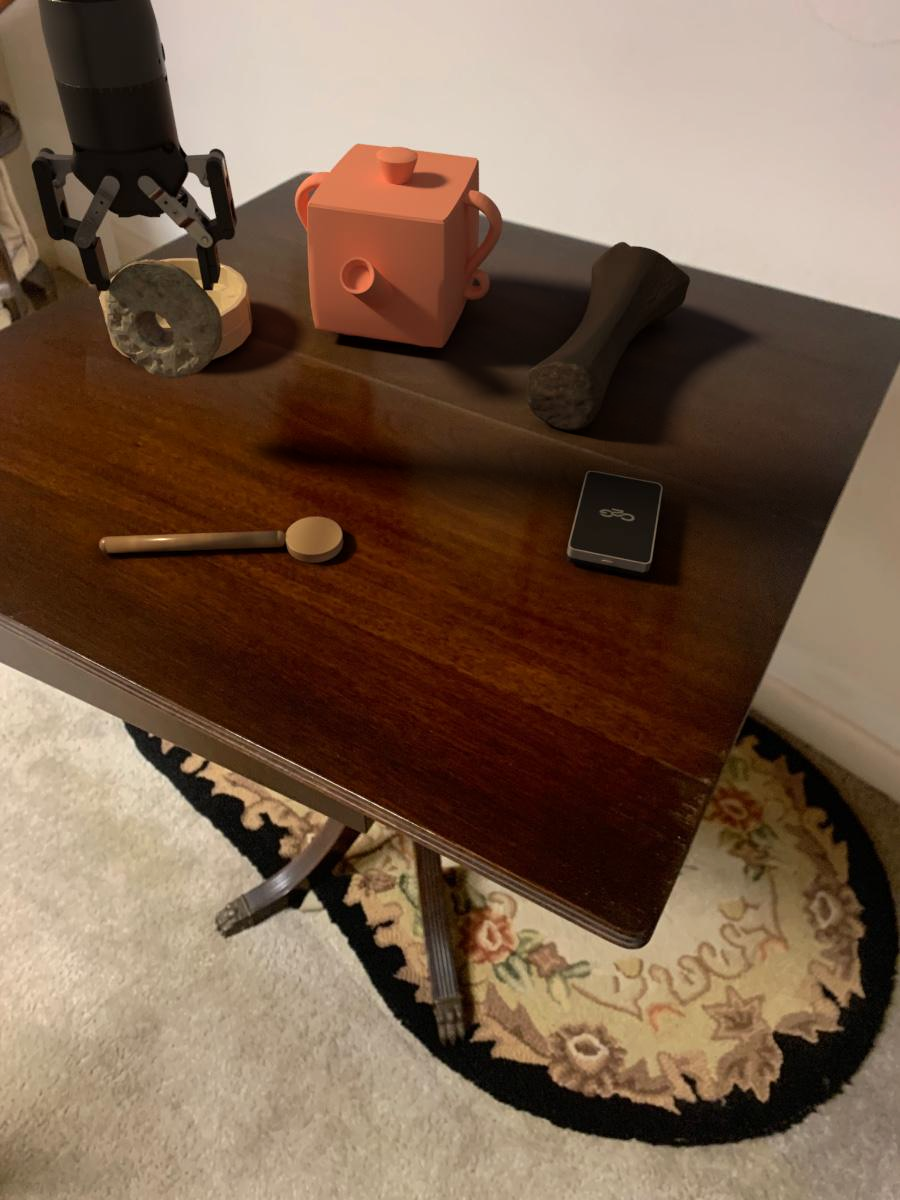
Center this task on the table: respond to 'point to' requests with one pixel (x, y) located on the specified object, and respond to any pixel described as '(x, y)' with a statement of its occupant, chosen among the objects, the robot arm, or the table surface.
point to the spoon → (242, 541)
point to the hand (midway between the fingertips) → (157, 286)
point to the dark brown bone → (604, 333)
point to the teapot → (395, 243)
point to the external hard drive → (615, 523)
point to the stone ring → (172, 298)
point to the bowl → (227, 298)
